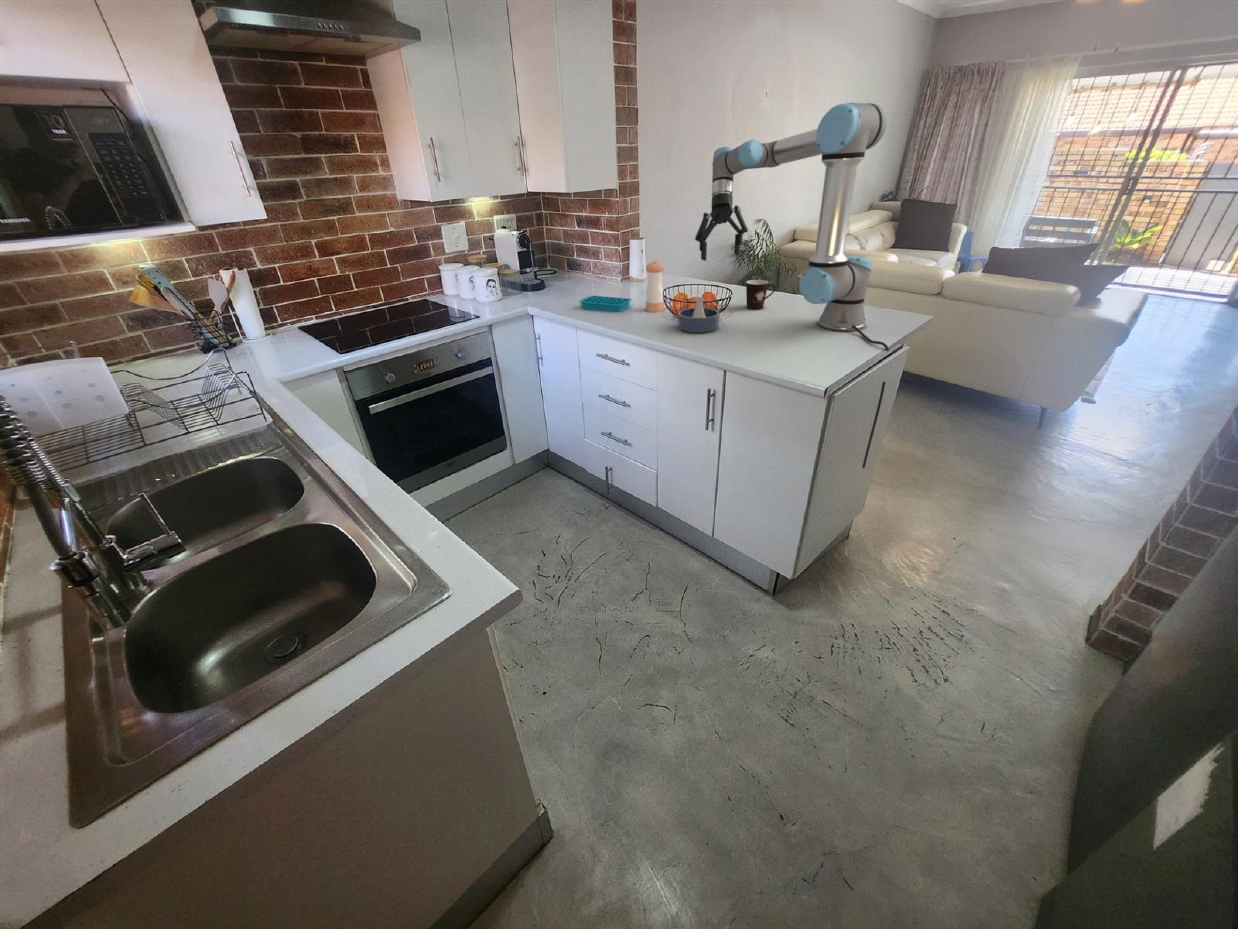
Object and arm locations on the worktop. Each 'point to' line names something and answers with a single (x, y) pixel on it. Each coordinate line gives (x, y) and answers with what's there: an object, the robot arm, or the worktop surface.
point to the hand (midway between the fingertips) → (720, 256)
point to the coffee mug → (757, 293)
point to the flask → (698, 308)
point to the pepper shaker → (654, 287)
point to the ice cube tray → (605, 303)
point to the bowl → (698, 321)
